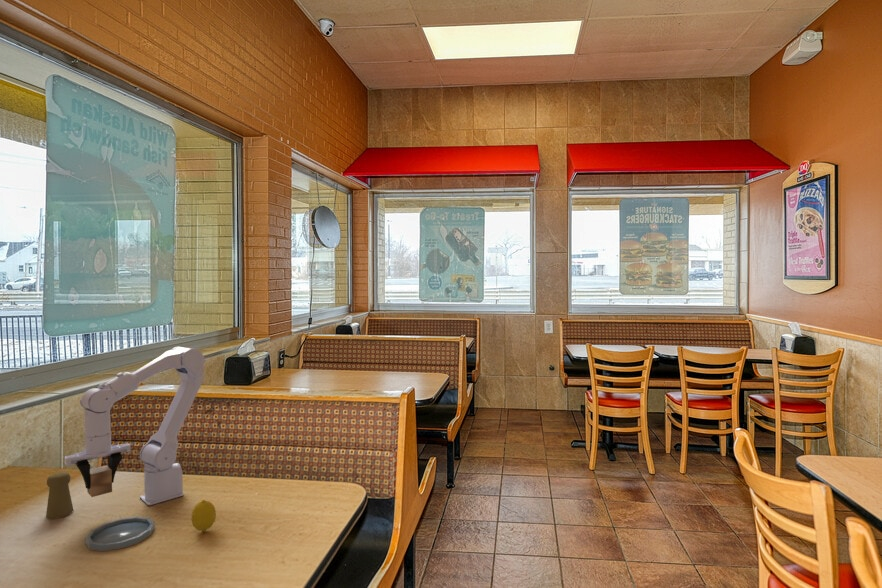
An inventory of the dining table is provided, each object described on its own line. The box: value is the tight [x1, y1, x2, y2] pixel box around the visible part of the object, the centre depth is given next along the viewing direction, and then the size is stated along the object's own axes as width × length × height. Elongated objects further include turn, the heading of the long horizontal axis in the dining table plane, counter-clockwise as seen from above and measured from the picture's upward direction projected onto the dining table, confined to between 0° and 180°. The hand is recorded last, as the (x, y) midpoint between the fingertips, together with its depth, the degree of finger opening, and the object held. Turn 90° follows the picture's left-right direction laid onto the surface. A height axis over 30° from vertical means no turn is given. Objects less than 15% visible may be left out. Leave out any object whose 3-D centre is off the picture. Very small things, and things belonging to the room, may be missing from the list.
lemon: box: [190, 499, 217, 533], centre depth 129 cm, size 6×6×8 cm
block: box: [86, 464, 113, 498], centre depth 137 cm, size 5×5×6 cm
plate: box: [84, 516, 155, 552], centre depth 128 cm, size 14×14×1 cm
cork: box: [45, 471, 74, 520], centre depth 140 cm, size 6×6×11 cm
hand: (99, 484), depth 137 cm, fingers closed on block, 5 cm apart
